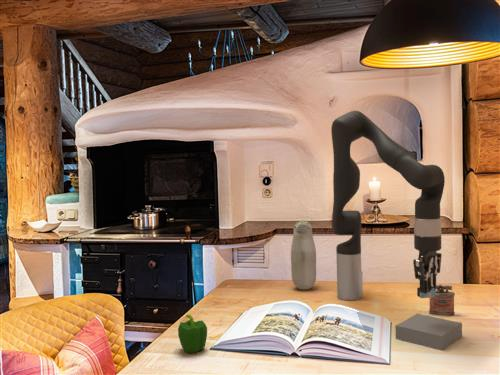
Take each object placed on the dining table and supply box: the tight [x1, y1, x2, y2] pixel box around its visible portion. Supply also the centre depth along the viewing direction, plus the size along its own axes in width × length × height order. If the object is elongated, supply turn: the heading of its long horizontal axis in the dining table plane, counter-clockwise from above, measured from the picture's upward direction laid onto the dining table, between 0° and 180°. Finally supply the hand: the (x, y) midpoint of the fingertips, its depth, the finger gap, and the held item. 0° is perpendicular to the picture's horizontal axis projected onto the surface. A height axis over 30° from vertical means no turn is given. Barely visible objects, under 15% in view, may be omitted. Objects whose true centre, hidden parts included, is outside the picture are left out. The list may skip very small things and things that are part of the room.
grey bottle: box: [290, 220, 317, 291], centre depth 206 cm, size 10×10×28 cm
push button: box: [416, 264, 438, 299], centre depth 149 cm, size 7×5×10 cm
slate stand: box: [395, 313, 463, 351], centre depth 150 cm, size 14×14×4 cm
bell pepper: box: [177, 313, 208, 354], centre depth 146 cm, size 8×8×10 cm
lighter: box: [428, 283, 456, 317], centre depth 170 cm, size 8×3×10 cm, turn 70°
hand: (427, 290), depth 149 cm, fingers closed on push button, 5 cm apart
